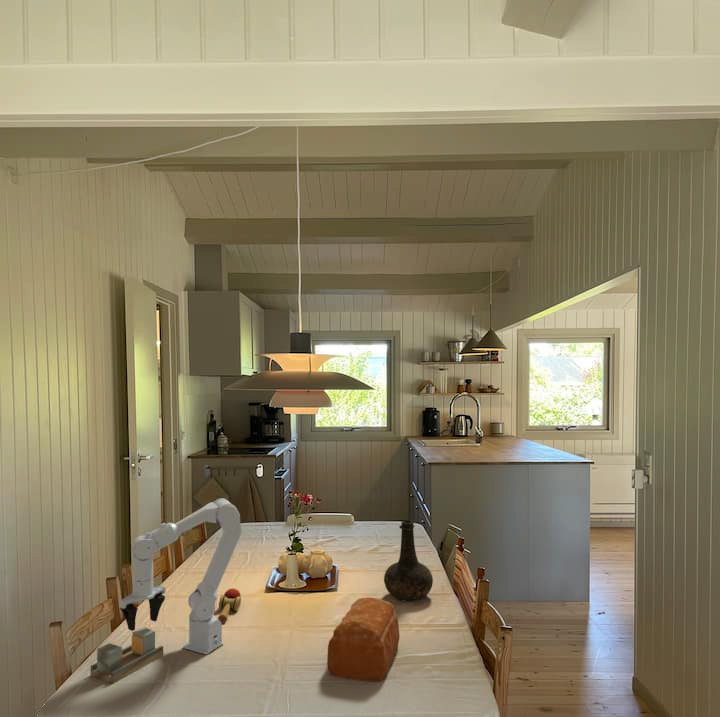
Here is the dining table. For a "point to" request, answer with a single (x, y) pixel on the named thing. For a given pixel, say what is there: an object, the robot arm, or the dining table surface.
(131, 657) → the jaw track
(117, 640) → the dining table surface
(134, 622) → the robot arm
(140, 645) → the block
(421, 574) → the glass bottle
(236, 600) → the kendama
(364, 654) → the bread
